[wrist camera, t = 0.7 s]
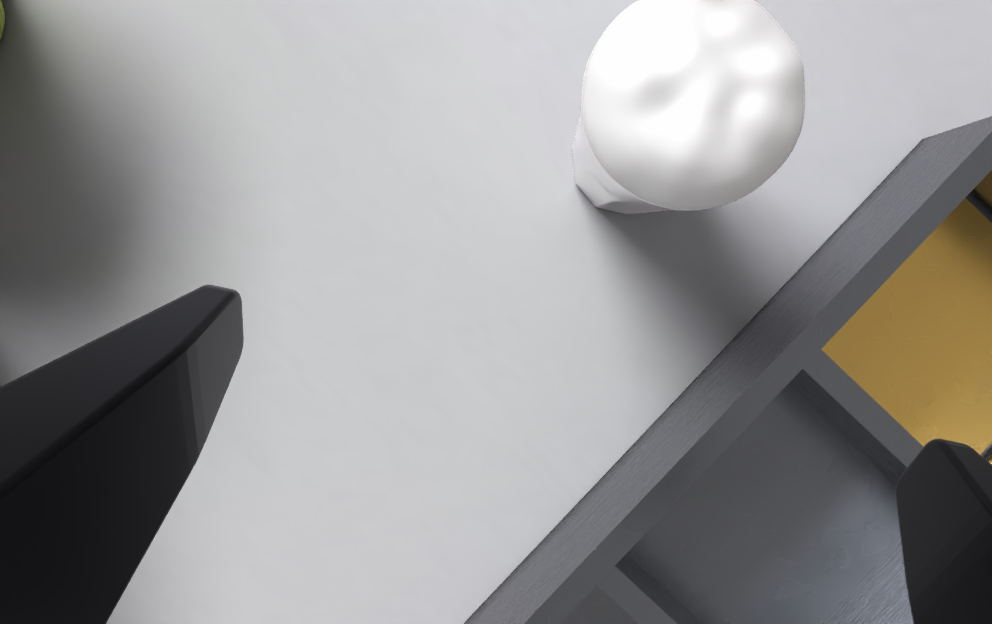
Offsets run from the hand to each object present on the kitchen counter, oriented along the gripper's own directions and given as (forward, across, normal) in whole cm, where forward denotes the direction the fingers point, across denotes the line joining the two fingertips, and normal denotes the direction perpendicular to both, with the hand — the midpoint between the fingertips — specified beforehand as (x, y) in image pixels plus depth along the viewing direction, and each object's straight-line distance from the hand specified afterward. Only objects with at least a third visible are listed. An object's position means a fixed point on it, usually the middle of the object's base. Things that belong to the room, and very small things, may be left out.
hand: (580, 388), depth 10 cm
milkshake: (+15, -2, +3) cm, 15 cm away
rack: (+9, -8, +12) cm, 17 cm away
